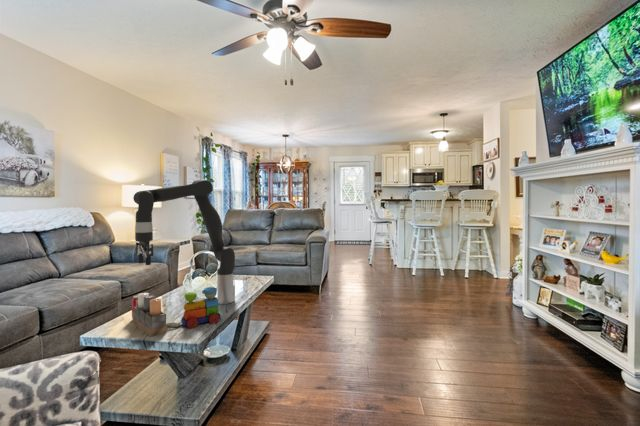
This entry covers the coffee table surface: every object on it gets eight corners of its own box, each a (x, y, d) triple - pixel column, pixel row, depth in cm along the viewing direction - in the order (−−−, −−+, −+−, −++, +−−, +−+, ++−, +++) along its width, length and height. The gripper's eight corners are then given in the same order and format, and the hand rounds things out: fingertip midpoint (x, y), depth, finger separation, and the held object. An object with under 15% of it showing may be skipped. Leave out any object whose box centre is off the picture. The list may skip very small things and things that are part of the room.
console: (148, 320, 160) (148, 303, 160) (166, 332, 145) (166, 313, 145) (133, 324, 155) (133, 307, 155) (150, 336, 140) (150, 317, 140)
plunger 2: (158, 312, 148) (158, 297, 148) (162, 314, 145) (162, 299, 145) (148, 314, 145) (148, 299, 145) (152, 316, 142) (152, 301, 142)
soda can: (150, 317, 164) (150, 294, 164) (139, 322, 158) (138, 298, 157) (140, 316, 167) (140, 293, 166) (128, 320, 160) (128, 297, 160)
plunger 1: (146, 305, 158) (146, 291, 158) (150, 307, 155) (150, 293, 155) (136, 307, 155) (136, 293, 155) (140, 309, 152) (139, 295, 152)
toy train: (154, 328, 151) (153, 293, 151) (215, 316, 168) (214, 284, 168) (158, 336, 141) (158, 299, 141) (222, 322, 158) (222, 289, 158)
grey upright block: (152, 308, 153) (152, 294, 153) (156, 310, 150) (156, 296, 150) (142, 311, 150) (142, 296, 150) (145, 313, 147) (145, 298, 147)
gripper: (158, 231, 154) (158, 264, 155) (145, 230, 163) (146, 261, 164) (142, 232, 149) (142, 266, 149) (129, 231, 158) (130, 263, 158)
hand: (144, 264), depth 156 cm, fingers open, 8 cm apart
